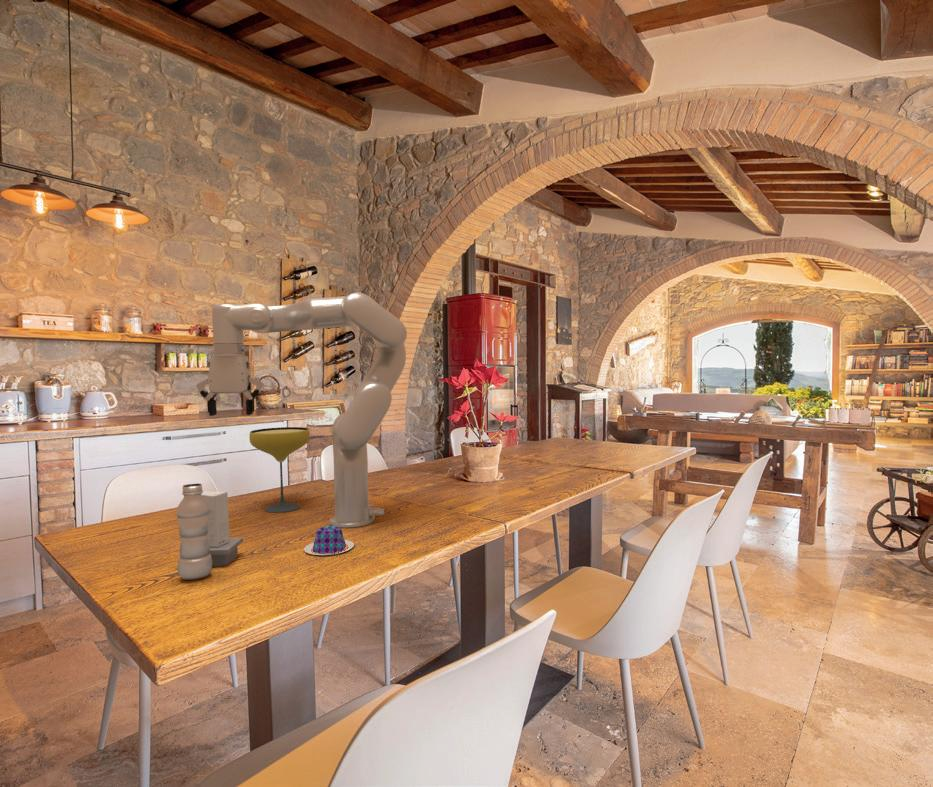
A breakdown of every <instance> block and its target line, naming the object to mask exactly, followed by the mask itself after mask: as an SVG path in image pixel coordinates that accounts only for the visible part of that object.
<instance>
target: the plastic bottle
mask: <svg viewBox="0 0 933 787" xmlns="http://www.w3.org/2000/svg"><path fill="white" fill-rule="evenodd" d="M203 492H204V490H203V484H202V483H188V484H184V485H182V493H181V495H182V496H183V498H182V499H181V501H180V502H179V504H178V505H177V507H176V512H175V513H176V514H175V515H176V520H177V523H178V524H177V525H178V531H179V536H180V538H179V539H180V541H179V542H180V545H179V558H178V563H177V571H178V575H179V576H180V578H181V579H182V580H187V581H188V580H189V581H190V580H191V581H192V580H199V579H202V578H205V577H207V576H209V575H210V574H211V572H212V570H213V569H212V568H213V566H212V557H211V554H210V548H209V540H208V532H209V518H210V505H209V503H208V502H207V501H206V499H205V498H204V497H203V496H202V493H203Z"/></svg>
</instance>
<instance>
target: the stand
mask: <svg viewBox="0 0 933 787" xmlns="http://www.w3.org/2000/svg"><path fill="white" fill-rule="evenodd" d="M229 538H230V542H229V543H226V544H224V545H222V546H219V547H209V548H210V554H211V557H212V567H226V566H228V565H229V564H230V563H232V561H234V560H235V558H237V557H238V554H239V552H238V546H239V545H241V544H242V543H243V542H244V537H229Z"/></svg>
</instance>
